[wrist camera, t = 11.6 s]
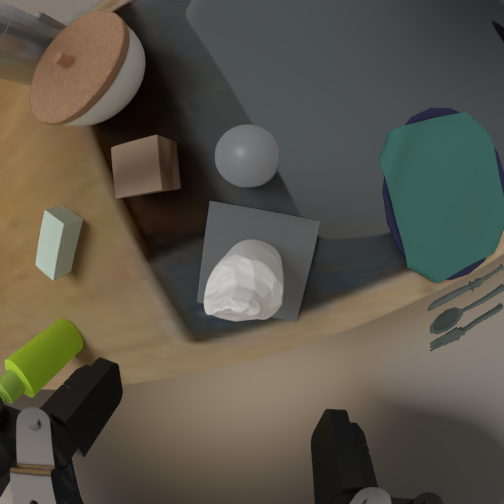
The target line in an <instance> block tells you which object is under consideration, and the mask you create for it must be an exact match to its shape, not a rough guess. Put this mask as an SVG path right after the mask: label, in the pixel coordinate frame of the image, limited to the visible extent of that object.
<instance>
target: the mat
mask: <svg viewBox="0 0 504 504" xmlns="http://www.w3.org/2000/svg"><path fill="white" fill-rule="evenodd" d="M319 226H320V221H318V220H313V219H309V218H304V217H299V216H294V215H289V214H283V213H278V212H273V211H268V210H262V209H257V208H251V207H246V206H240V205H234V204H228V203H222V202H216V201H210V203H209V210H208V217H207V224H206V231H205V238H204V246H203V254H202V262H201V270H200V279H199V288H198V297H197V302H198V303H203V304H204V294H205V290H206V285H207V282H208V279H209V277H210V275H211V273H212V271H213V270H214V268H215V267H216V265H217V264H218V263H219V262H220V260H221V259H222V258H224V256H225V255H226V254H227V253H228V252H229V251H230V249H231V248H232V247H233V246H235V245H236V244H237V243H239V242H241V241H243V240H247V239H250V240H251V239H252V240H259V241H263V242H265V243H267V244H270V245H271V246H272V247H274V248H275V249H276V250H277V251H278V253H279V254H280V257H281V260H282V269H283V279H284V280H283V298H282V305H281V306H280V308H279V309H278V310H277V312H276V313H275V314H273V315H272V316H271V317H273V318H278V319H284V320H290V321H297V317H298V313H299V309H300V306H301V302H302V298H303V294H304V290H305V286H306V282H307V278H308V274H309V270H310V266H311V262H312V257H313V253H314V249H315V244H316V240H317V235H318V231H319Z"/></svg>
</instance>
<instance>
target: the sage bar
mask: <svg viewBox="0 0 504 504" xmlns="http://www.w3.org/2000/svg"><path fill="white" fill-rule="evenodd" d="M82 223H83V218H81V217H80V216H78V215H77V214H75V213H74V212H72V211H71V210H69V209H68V208H66V207H65V206H62V207H56V208H51V209H45V211H44V216H43V221H42V226H41V231H40V237H39V243H38V250H37V257H36V266H37V267H38V268H39V269H40V270H41V271H43V272H44V273H45V274H46V275H47V276H48V277H50V278H51V279H52V280H53V281H54V280H56V279H58V278H60V277H62V276H64V275H66V274H68V273H70V272H71V269H72V264H73V259H74V255H75V250H76V246H77V242H78V238H79V234H80V230H81V227H82Z"/></svg>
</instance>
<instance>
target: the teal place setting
mask: <svg viewBox="0 0 504 504" xmlns="http://www.w3.org/2000/svg"><path fill="white" fill-rule="evenodd" d="M378 159H379V163H380V165H381V168H382V171H383V173H384V184H383V197H384V204H385V210H386V218H387V223H388V226H389V228H390V231H391V233H392V235H393V238H394V240H395V243H396V245H397V248H398V249H399V250H400V252H401V253H402V254H403V255H404V256H405V258H406V261H407V267H408V268H409V269H412V270H414V271H415V272H418V273H419V274H420V275H423V276H425V277H426V278H428V279H430V280H431V281H432V282H436V283H437V282H441V281H443V280H445V279H447V280H452V279H455V278H458V277H461V276H464V275H467V274H469V273H470V272H472V271H473V270H474V269H475V268H477V267H478V266H479V265H480V264H481V263H483V262H484V261H485V259H486V258H487V257H488V256H490V255H492V254H493V253H494V252H495V250H496V248H497V246H498V243H499V241H500V238H501V235H502V233H503V230H504V171H503V168H502V165H501V161H500V158H499V155H498V152H497V151H496V149H495V147H494V145H493V141H492V138H491V136H490V135H489V133H488V132H487V131H486V130H485V129H484V128H483V127H481V125H480V124H478V122H476V121H475V120H474V119H473V117H471V116H470V115H469V114H468V113H467V112H461V113H460V112H457V111H455V110H453V109H451V108H430V109H428V110H425V111H423V112H421V113H419V114H417V115H415V116H412V117H411V118H410V119H409V121H408V122H407V123H406V124H405V125H404V126H401V127H398V128H395V129H393V130H392V131H391V132H389V133H388V135H387V138H386V141H385V145H384V148H383V150H382V152H381V154H380V156H379V158H378ZM502 269H503V265H500V267H498V268H497V269H496V270H494V271H493V272H491V273H490V274H488V275H486V276H484V277H483V278H478V279H475V281H474V282H470V281H469V285H467V286H464V287H461V288H459V289H457V290H455V291H453V292H451V293H449V294H447V295H445V296H443V297H441V298H439V299H438V300H436V301H434V302H433V303H432V304H431V305H430V306H429V307H428V310H429V311H430V310H432V309H434V308H436V307H438V306H440V305H442V304H444V303H446V302H448V301H450V300H452V299H453V298H455V297H457V296H459V295H460V294H463V293H464V292H466V291H468V290H469V289H471V290H472V291H473V290H474V288H475V287H479V286H480V285H481V284H482V282H483V281H485V280H487V279H488V278H489V277H491V276H492V275H493V274H495V273H497V272H498V271H500V270H502ZM502 291H504V285H503V284H501V285H500V286H498V287H497V288H496V289H495V290H493V291H492V292H490V293H489V294H487V295H486V296H484V297H483V298H481V299H480V300H478V301H476V302H474V303H473V304H471V305H469V306H467V307H465V308H464V309H459V308H451V309H448V310H446V311H444V312H443V313H442V314H440V315H439V316H438V317H437V318H436V320H435V321H434V322H433V323H432V325H431V326H430V333H434V334H439V333H442V332H445V331H447V330H449V329H450V328H451V327H453V326H454V325H455V324H456V323H457V322H458V321H459V319H460V318H461V316H462V315H463V312H465V311H467V310H469V309H471V308H473V307H475V306H477V305H479V304H481V303H483V302H485V301H487V300H489V299H490V298H492V297H494V296H495V295H497V294H499V293H500V292H502ZM502 309H503V305H502V304H501V303H500V304H498V305H497V306H496V307H495V308H493V309H492V310H490V311H488V312H486V313H485V314H483V315H481V316H480V317H478V318H477V319H475V320H474V321H472V322H471V323H470V324H468V325H467V326H466V327H464V328H462V327H459V328H457V327H456V328H454V329H453V330H451V331H449V332H448V333H446V334H445V335H443V336H441V337H439V338H437V339H436V340H434V341H433V342H431V343H430V345H432V344H433V345H432V346H430V348H432V347H433V348H432V349H430V351H432V350H434V349H436V348H438V347H441V346H443V345H446V344H448V343H451V342H453V341H455V340H459V338H460V336H461V335H464V333H465V332H466V331H468V330H469V329H471V328H472V327H474V326H475V325H476V324H478V323H480V322H481V321H483V320H485V319H487V318H488V317H490V316H492V315H494V314H496V313H497V312H499V311H500V310H502ZM435 342H436V343H435ZM434 346H435V347H434Z"/></svg>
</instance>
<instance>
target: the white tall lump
mask: <svg viewBox="0 0 504 504" xmlns="http://www.w3.org/2000/svg"><path fill="white" fill-rule="evenodd" d="M283 280H284V279H283V269H282V260H281V257H280V254H279V253H278V251H277V250H276V249H275V248H274V247H272V246H271V245H270V244H267V243H265V242H263V241H259V240H252V239H251V240H250V239H247V240H243V241H241V242H239V243H237V244H236V245H235V246H233V247H232V248H231V249H230V251H229V252H228V253H227V254H226V255H225V256H224V258H222V259H221V260H220V262H219V263H218V264H217V265H216V267H215V268H214V270H213V271H212V273H211V275H210V277H209V279H208V282H207V285H206V290H205V294H204V309H205V312H206V314H208V315H214V316H217V317H219V318H223V319H226V320H231V321H243V320H253V319H262V320H265V319H268V318H270V317H271V316H272V315H273V314H275V313H276V312H277V310H278V309H279V308H280V306H281V305H282V298H283Z"/></svg>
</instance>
